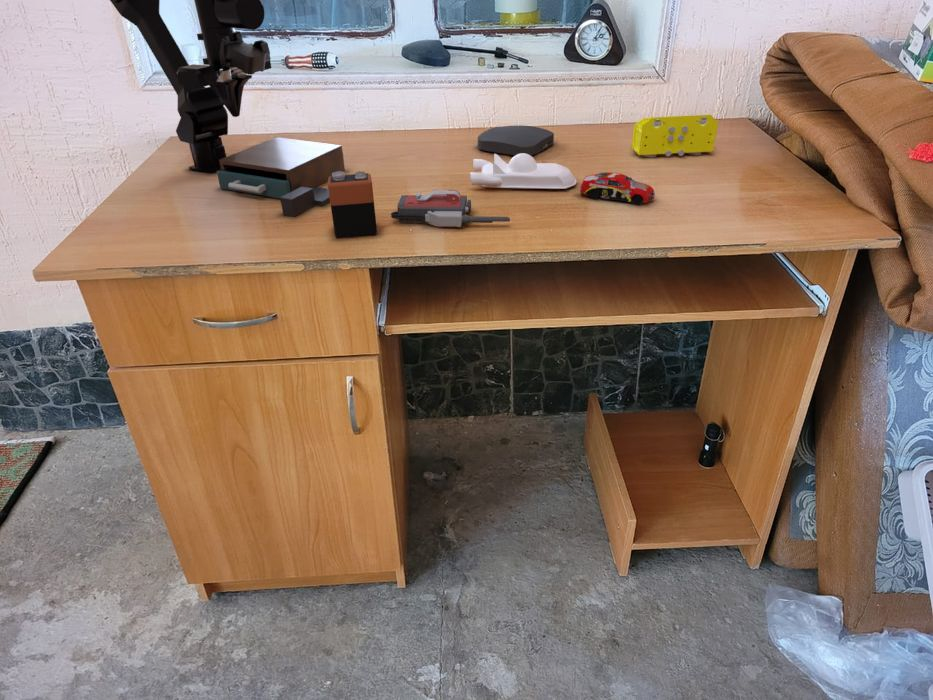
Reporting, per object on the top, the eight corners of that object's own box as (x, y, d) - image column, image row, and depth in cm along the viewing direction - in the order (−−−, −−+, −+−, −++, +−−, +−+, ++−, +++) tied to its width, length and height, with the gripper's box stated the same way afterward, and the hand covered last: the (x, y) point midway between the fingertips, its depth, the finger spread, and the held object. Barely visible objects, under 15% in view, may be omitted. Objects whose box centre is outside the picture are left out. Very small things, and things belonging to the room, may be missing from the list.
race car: (656, 197, 117) (660, 176, 115) (649, 208, 113) (652, 185, 111) (586, 187, 122) (588, 166, 120) (577, 196, 118) (578, 175, 116)
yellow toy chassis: (638, 159, 136) (644, 118, 131) (630, 151, 140) (635, 111, 136) (712, 155, 137) (720, 114, 132) (702, 148, 141) (709, 108, 137)
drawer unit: (293, 198, 120) (288, 170, 117) (225, 187, 127) (219, 159, 124) (345, 171, 133) (341, 145, 130) (281, 162, 139) (276, 137, 136)
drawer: (280, 204, 118) (277, 186, 116) (211, 192, 124) (207, 175, 122) (341, 172, 132) (339, 156, 130) (277, 163, 138) (274, 147, 136)
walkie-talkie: (388, 228, 108) (509, 230, 106) (386, 203, 105) (510, 204, 104) (397, 209, 115) (510, 210, 113) (395, 185, 113) (511, 185, 111)
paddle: (276, 213, 114) (272, 196, 113) (317, 191, 123) (314, 175, 122) (301, 218, 112) (298, 200, 111) (341, 195, 121) (339, 179, 120)
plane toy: (578, 194, 119) (580, 162, 116) (470, 193, 121) (469, 162, 118) (574, 175, 128) (576, 146, 125) (473, 175, 129) (473, 146, 126)
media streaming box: (471, 150, 144) (470, 136, 142) (503, 134, 154) (503, 121, 152) (529, 159, 137) (530, 145, 135) (559, 142, 147) (560, 128, 146)
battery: (335, 229, 108) (326, 170, 103) (376, 225, 109) (369, 166, 103) (335, 239, 104) (326, 178, 99) (377, 235, 105) (371, 175, 100)
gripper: (213, 35, 106) (234, 132, 115) (286, 21, 120) (300, 109, 129) (163, 33, 110) (187, 126, 119) (240, 19, 124) (256, 104, 133)
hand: (236, 116), depth 125 cm, fingers closed
